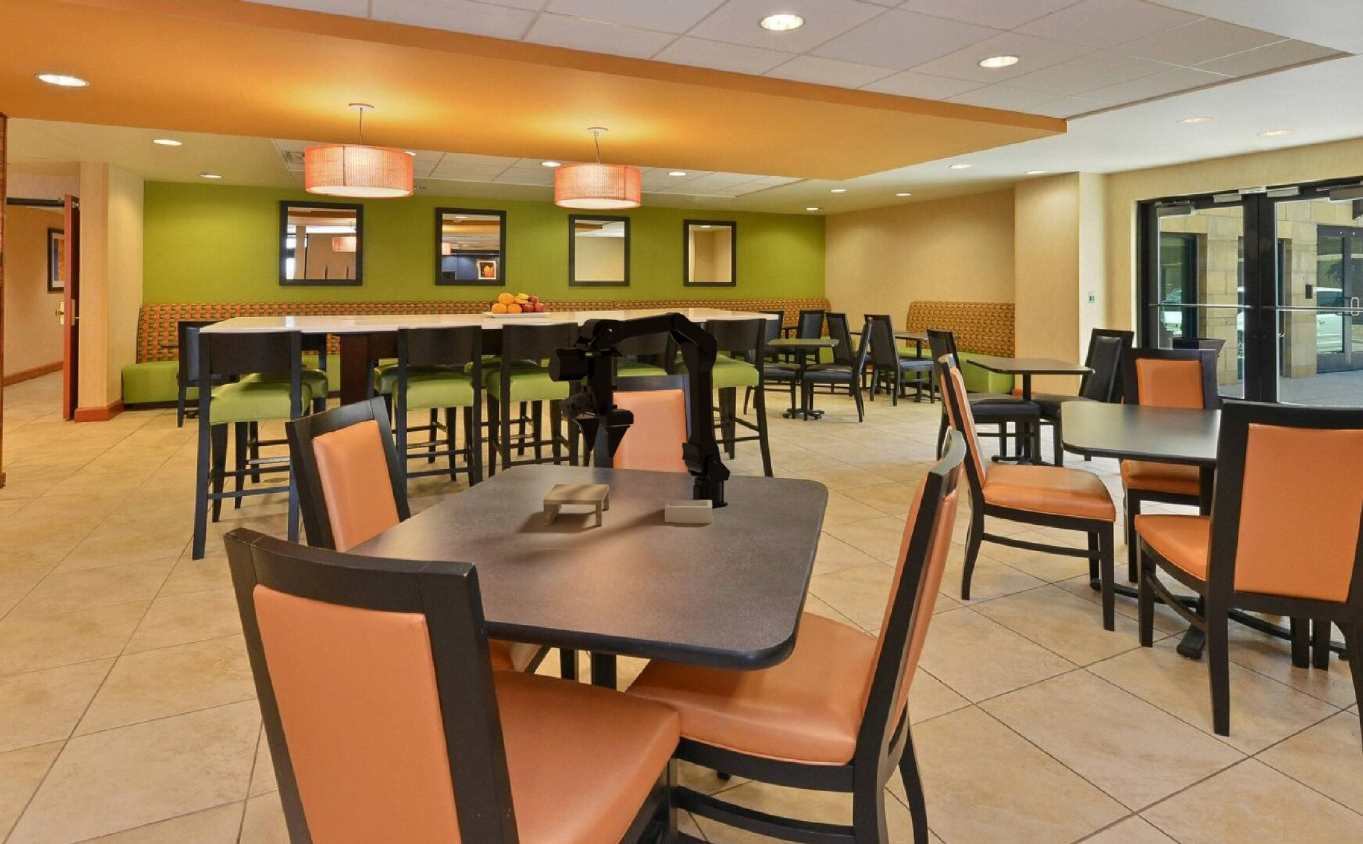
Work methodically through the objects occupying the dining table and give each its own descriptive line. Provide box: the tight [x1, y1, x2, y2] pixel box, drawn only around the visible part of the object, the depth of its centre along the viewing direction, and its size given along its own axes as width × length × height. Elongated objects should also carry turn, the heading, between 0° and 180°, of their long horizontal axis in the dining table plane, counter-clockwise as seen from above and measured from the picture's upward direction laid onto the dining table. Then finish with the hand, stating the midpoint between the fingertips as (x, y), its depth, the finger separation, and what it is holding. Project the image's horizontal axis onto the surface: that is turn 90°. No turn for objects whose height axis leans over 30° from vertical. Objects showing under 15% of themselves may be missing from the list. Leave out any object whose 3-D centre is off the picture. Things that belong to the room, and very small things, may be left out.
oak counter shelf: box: [542, 483, 610, 527], centre depth 167 cm, size 12×14×6 cm
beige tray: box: [664, 499, 713, 524], centre depth 167 cm, size 10×6×4 cm, turn 89°
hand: (600, 454), depth 162 cm, fingers open, 9 cm apart
